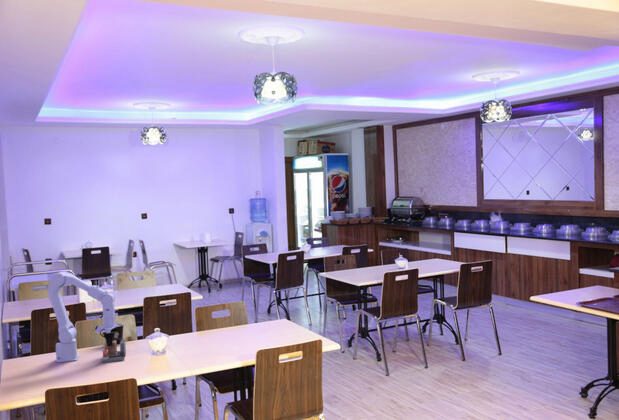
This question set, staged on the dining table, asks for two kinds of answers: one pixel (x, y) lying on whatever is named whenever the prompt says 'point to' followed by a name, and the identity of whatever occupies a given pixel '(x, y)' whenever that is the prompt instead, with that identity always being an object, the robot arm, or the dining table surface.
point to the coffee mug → (117, 333)
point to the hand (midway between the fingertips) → (110, 343)
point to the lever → (105, 355)
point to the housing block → (111, 348)
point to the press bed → (118, 353)
